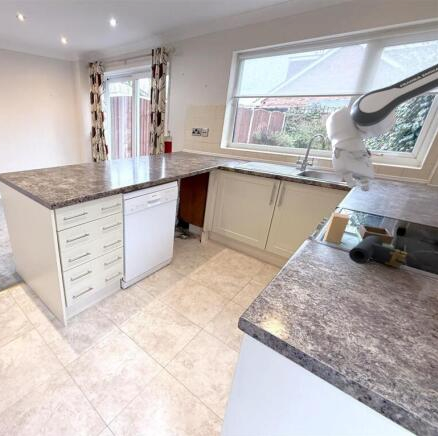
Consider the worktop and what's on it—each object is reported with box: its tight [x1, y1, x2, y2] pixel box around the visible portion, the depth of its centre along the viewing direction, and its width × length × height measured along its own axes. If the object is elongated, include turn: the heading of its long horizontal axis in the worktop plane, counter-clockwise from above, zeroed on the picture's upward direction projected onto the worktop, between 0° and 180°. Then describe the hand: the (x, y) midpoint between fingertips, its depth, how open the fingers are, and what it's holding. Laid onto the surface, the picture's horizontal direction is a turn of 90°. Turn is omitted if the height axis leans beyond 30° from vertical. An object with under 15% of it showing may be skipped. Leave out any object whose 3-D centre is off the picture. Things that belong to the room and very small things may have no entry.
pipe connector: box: [348, 236, 408, 269], centre depth 79 cm, size 12×5×15 cm
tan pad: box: [324, 211, 350, 245], centre depth 90 cm, size 4×4×10 cm
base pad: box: [354, 223, 395, 249], centre depth 92 cm, size 12×9×4 cm
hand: (359, 188), depth 83 cm, fingers open, 8 cm apart
